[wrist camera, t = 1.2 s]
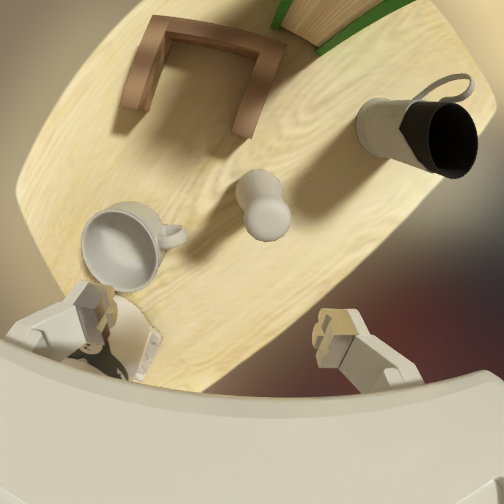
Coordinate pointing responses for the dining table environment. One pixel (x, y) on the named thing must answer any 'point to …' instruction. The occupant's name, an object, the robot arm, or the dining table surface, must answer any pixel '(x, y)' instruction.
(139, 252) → the teacup
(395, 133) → the tall mug
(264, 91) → the walnut holder
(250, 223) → the salt shaker
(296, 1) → the hardback book
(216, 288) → the dining table surface
